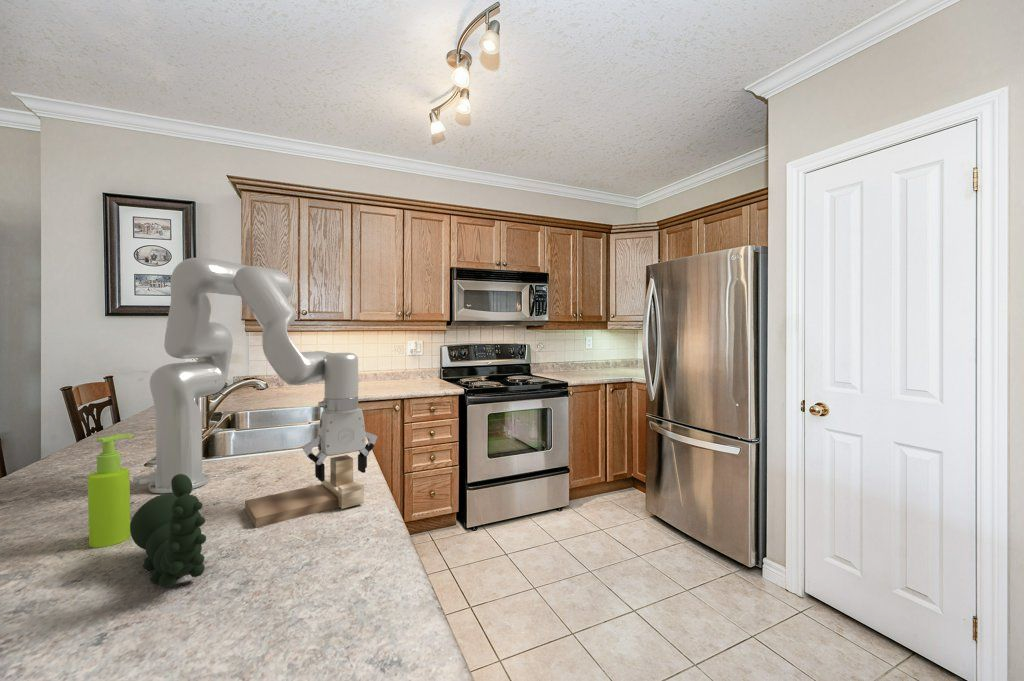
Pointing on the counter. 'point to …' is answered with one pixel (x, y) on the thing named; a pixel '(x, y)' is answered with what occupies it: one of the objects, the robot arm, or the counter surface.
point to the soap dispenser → (109, 497)
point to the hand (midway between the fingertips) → (341, 475)
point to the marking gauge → (344, 482)
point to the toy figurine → (171, 533)
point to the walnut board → (290, 505)
